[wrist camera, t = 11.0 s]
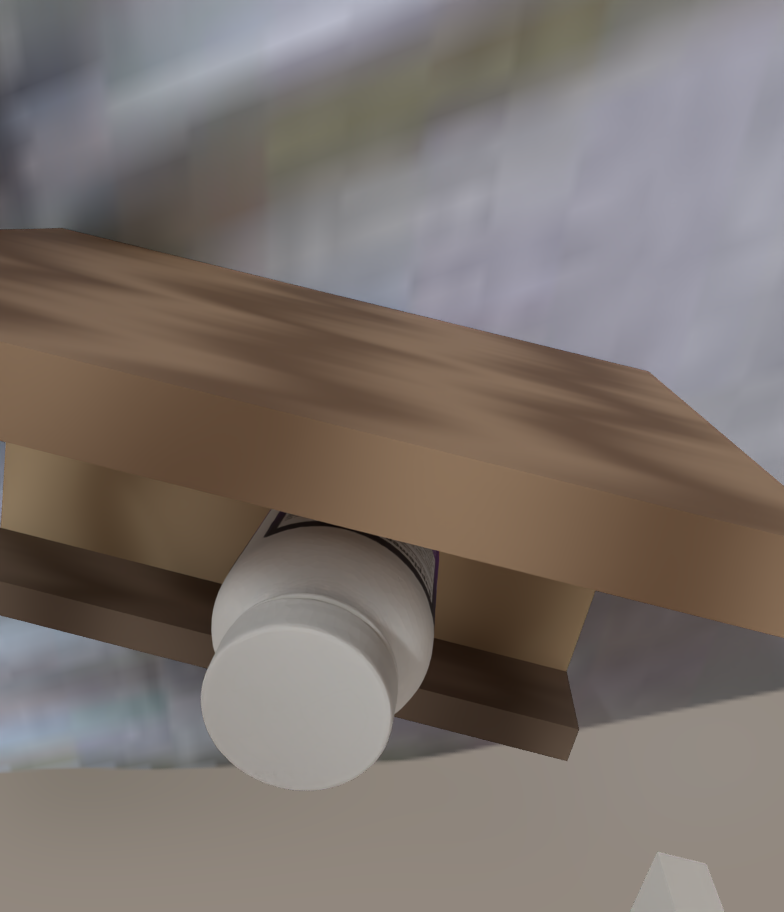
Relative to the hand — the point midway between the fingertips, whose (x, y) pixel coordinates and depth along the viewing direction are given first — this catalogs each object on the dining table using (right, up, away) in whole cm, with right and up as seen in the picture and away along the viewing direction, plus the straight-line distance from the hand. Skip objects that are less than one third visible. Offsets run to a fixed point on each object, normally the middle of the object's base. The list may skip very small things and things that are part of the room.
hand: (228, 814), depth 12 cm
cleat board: (0, +6, +15) cm, 16 cm away
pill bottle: (+2, +3, +13) cm, 13 cm away
